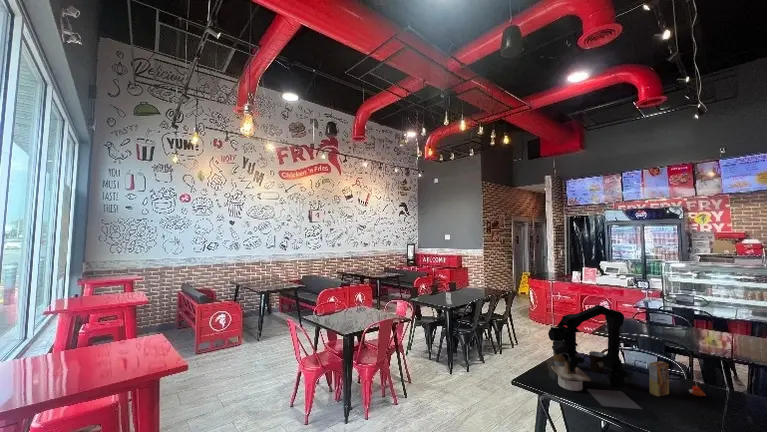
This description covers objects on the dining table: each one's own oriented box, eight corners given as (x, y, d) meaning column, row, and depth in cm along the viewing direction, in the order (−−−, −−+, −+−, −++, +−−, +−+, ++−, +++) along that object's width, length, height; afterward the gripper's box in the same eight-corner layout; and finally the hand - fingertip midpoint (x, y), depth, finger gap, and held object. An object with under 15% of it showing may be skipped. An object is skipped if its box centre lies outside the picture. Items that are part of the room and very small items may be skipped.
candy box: (660, 390, 172) (659, 360, 173) (669, 394, 168) (669, 363, 169) (649, 393, 169) (648, 362, 170) (658, 397, 165) (657, 365, 166)
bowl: (576, 382, 180) (576, 373, 180) (586, 392, 169) (586, 382, 169) (555, 381, 181) (555, 371, 182) (563, 390, 171) (563, 380, 171)
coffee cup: (570, 369, 196) (570, 344, 197) (555, 368, 198) (554, 343, 199) (565, 364, 205) (565, 339, 205) (551, 363, 206) (550, 338, 207)
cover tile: (578, 369, 181) (578, 358, 182) (590, 380, 168) (590, 368, 168) (551, 367, 183) (551, 356, 184) (561, 379, 170) (561, 367, 170)
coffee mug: (606, 370, 196) (606, 353, 197) (607, 375, 189) (606, 357, 190) (583, 365, 203) (583, 349, 203) (583, 370, 195) (583, 353, 196)
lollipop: (691, 398, 165) (690, 373, 165) (687, 390, 173) (687, 367, 173) (708, 401, 161) (707, 376, 162) (703, 393, 169) (702, 369, 170)
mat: (621, 392, 170) (621, 391, 170) (642, 410, 153) (642, 409, 153) (585, 389, 172) (585, 388, 172) (602, 407, 155) (602, 405, 155)
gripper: (547, 334, 187) (547, 362, 186) (560, 345, 168) (560, 376, 167) (568, 335, 185) (569, 363, 184) (584, 346, 167) (584, 378, 166)
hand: (570, 370), depth 176 cm, fingers closed on cover tile, 4 cm apart
